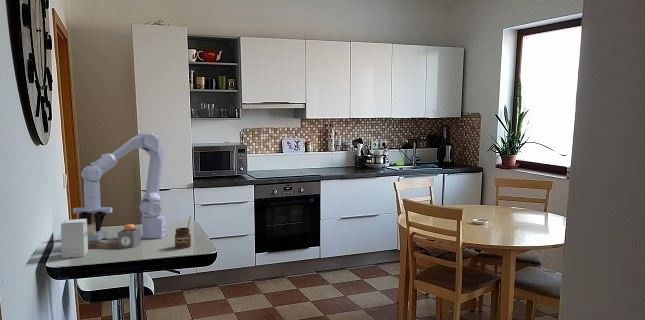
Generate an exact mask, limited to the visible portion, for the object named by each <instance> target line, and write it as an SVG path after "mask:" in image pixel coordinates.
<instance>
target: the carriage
mask: <svg viewBox="0 0 645 320" xmlns="http://www.w3.org/2000/svg"><path fill="white" fill-rule="evenodd" d="M87 236H88V241H99V240H101V239H103V238H108V231H106V230H104V231H103V230H100V231H98V232H96V222H95V223H94V222H93V223H92V222H91V224H89V225H87Z"/></svg>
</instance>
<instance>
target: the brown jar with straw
mask: <svg viewBox="0 0 645 320" xmlns="http://www.w3.org/2000/svg"><path fill="white" fill-rule="evenodd" d="M191 220H192V215H190V216H189V220H188V224H187V227H179V226H178V225H181V219H180V218H175V220H174V223H175V226H176V229H175V234H174V247H175V248H176V249H188V248H189V247H191V245H192V239H191V238H192V237H191V236H192V235H191V233H190V231H191V230H190V228H189V226H190V224H191ZM176 221H177V223H176Z"/></svg>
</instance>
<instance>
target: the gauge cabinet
mask: <svg viewBox="0 0 645 320" xmlns="http://www.w3.org/2000/svg"><path fill="white" fill-rule="evenodd" d="M141 236H142V229H141V228H139V227H138V228H135V227H134V231H124V228H123V229H121V230H119V231H117V238H118V248H119V249H121V248H122V249H123V248H125V249H126V248H129V249H130V248H133V249H134V248H136V247H137V246H139V245H141V243H142V238H141ZM118 248H117V249H118Z"/></svg>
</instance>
